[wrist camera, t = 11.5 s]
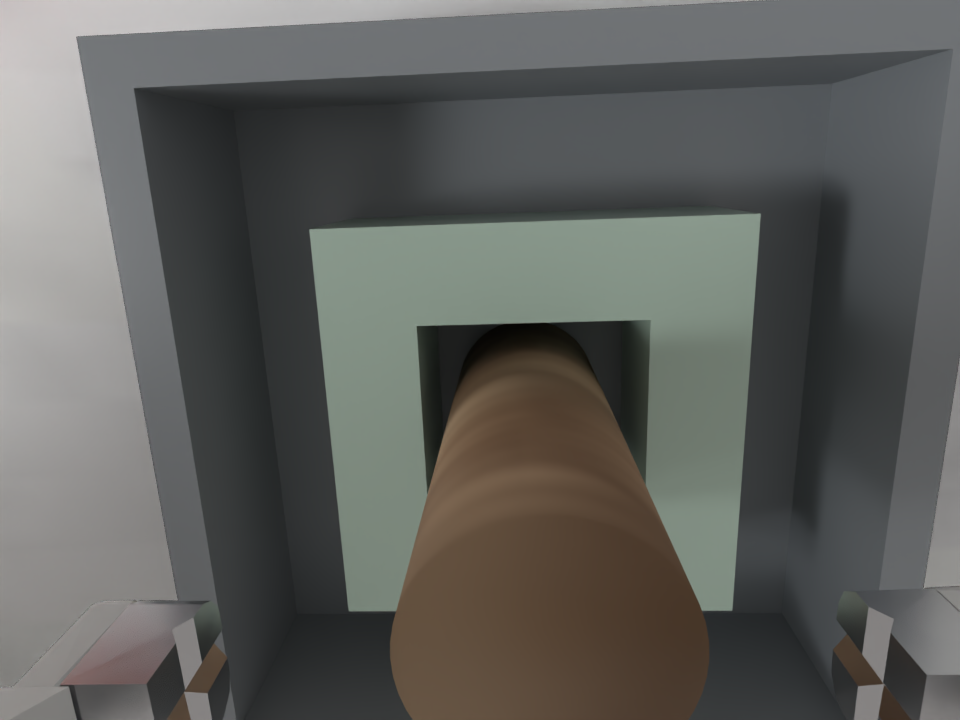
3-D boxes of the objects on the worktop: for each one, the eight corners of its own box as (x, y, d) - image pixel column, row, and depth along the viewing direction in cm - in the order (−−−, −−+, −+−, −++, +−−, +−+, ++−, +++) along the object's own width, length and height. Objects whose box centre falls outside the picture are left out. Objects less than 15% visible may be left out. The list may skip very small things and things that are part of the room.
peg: (462, 448, 21) (400, 785, 9) (456, 321, 20) (379, 516, 8) (593, 447, 20) (701, 789, 9) (593, 317, 19) (717, 512, 8)
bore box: (281, 620, 24) (207, 762, 18) (208, 78, 19) (76, 36, 13) (798, 619, 23) (894, 770, 17) (856, 47, 18) (1017, -13, 12)
